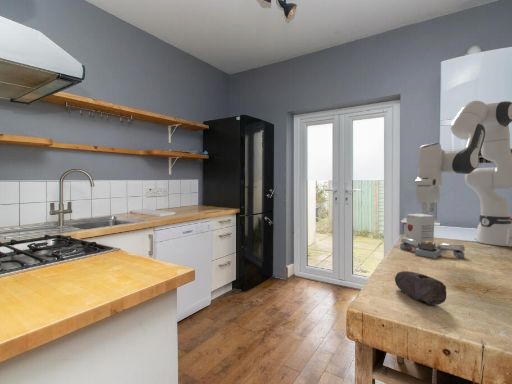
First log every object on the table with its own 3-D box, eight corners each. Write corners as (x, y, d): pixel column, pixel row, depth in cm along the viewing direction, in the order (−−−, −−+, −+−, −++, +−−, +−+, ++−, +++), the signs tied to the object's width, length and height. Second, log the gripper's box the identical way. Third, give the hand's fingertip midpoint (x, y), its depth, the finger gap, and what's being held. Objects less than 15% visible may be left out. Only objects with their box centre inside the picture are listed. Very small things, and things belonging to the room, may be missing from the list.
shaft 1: (423, 252, 124) (423, 241, 124) (415, 252, 123) (416, 241, 123) (406, 247, 133) (407, 237, 133) (399, 248, 132) (399, 237, 131)
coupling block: (423, 251, 123) (424, 239, 123) (435, 253, 120) (435, 241, 120) (420, 253, 120) (420, 241, 120) (432, 255, 117) (432, 243, 116)
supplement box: (405, 242, 143) (405, 214, 143) (418, 241, 146) (419, 213, 145) (420, 246, 135) (421, 216, 134) (434, 245, 137) (435, 215, 137)
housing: (420, 251, 125) (420, 246, 125) (440, 254, 120) (440, 249, 120) (414, 254, 120) (415, 249, 120) (435, 258, 114) (435, 252, 114)
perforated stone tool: (388, 288, 82) (389, 265, 82) (403, 286, 84) (403, 264, 83) (431, 311, 68) (432, 283, 68) (448, 308, 69) (449, 281, 69)
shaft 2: (440, 256, 117) (440, 244, 116) (436, 254, 121) (436, 242, 121) (465, 258, 114) (465, 246, 114) (460, 255, 118) (460, 244, 118)
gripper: (428, 180, 128) (427, 210, 129) (413, 181, 114) (412, 214, 115) (444, 180, 123) (443, 211, 124) (430, 181, 109) (430, 215, 110)
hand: (428, 212), depth 119 cm, fingers open, 8 cm apart
